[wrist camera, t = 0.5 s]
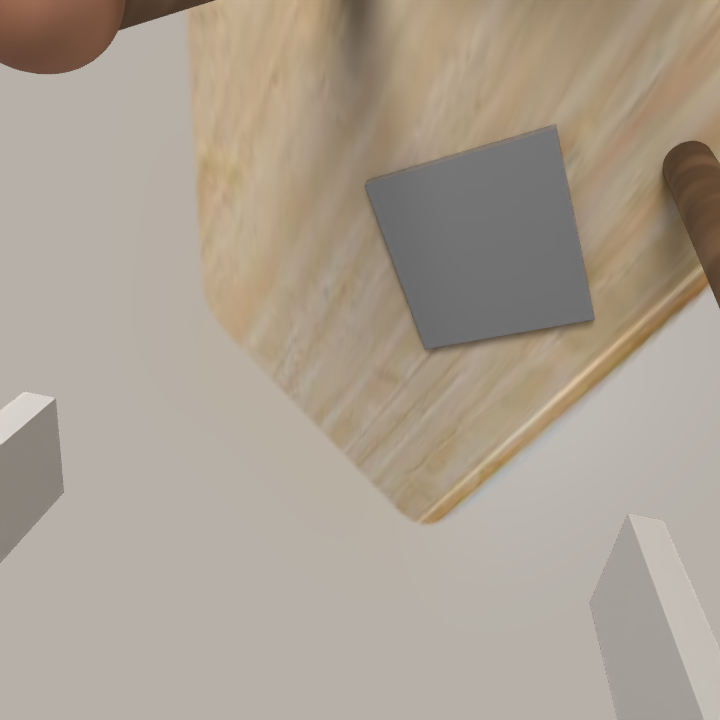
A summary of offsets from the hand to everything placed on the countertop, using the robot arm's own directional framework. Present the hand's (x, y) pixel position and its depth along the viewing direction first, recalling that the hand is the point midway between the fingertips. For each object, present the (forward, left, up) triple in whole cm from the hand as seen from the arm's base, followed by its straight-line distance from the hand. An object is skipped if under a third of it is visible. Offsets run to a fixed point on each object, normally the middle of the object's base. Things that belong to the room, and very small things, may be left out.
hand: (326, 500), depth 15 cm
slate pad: (0, +7, -27) cm, 28 cm away
